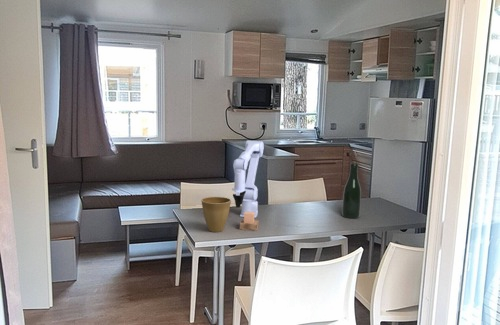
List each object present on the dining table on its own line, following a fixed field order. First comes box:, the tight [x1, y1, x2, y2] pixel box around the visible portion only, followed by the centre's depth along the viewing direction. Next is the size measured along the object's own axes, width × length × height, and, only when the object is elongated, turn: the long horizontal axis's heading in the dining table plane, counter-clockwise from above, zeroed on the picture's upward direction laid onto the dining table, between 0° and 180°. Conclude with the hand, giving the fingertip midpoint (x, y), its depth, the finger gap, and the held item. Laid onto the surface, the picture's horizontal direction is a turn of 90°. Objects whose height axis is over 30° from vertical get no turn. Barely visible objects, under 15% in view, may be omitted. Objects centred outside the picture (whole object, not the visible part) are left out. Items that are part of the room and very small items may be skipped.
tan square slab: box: [239, 218, 260, 232], centre depth 241 cm, size 9×9×3 cm
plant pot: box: [201, 196, 232, 233], centre depth 233 cm, size 15×15×16 cm
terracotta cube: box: [243, 211, 255, 224], centre depth 240 cm, size 5×5×5 cm
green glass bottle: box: [341, 160, 362, 219], centre depth 268 cm, size 10×10×33 cm
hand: (239, 205), depth 249 cm, fingers open, 7 cm apart
